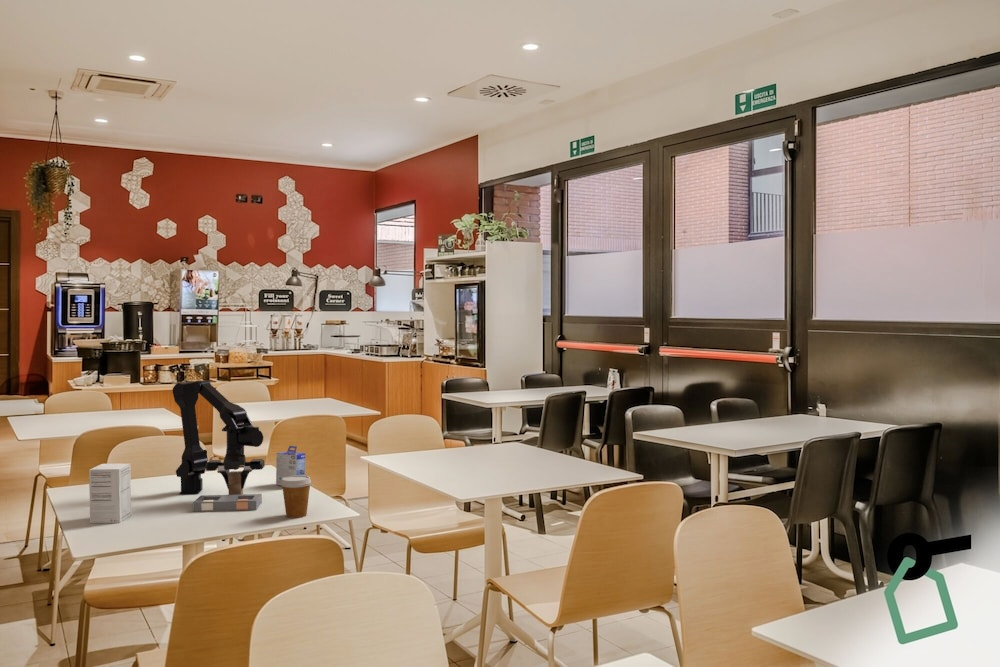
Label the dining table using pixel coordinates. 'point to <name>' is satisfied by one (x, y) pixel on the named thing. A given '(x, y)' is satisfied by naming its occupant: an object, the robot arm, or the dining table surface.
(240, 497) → the socket board
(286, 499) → the disposable coffee cup
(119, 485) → the supplement box
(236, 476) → the walnut plug
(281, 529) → the dining table surface
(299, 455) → the ink cartridge box
